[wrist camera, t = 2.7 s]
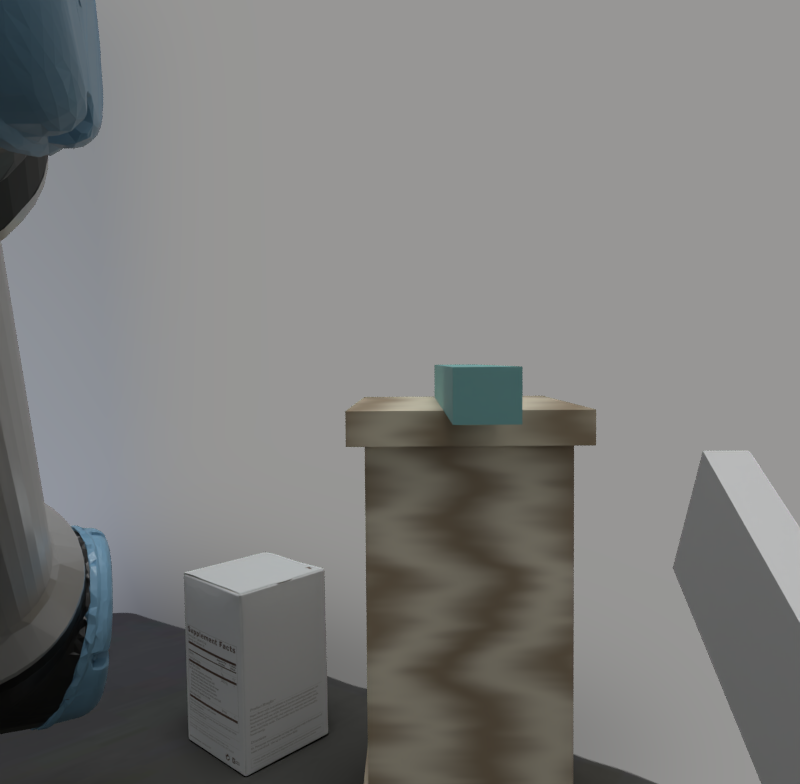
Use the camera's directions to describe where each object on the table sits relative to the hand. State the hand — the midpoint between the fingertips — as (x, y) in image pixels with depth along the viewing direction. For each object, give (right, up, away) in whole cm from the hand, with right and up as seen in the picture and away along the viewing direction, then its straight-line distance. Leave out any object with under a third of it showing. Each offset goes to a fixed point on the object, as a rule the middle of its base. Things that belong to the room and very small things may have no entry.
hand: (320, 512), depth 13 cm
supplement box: (-11, -28, +50) cm, 58 cm away
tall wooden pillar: (+6, -29, +36) cm, 47 cm away
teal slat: (+5, +1, +30) cm, 31 cm away
